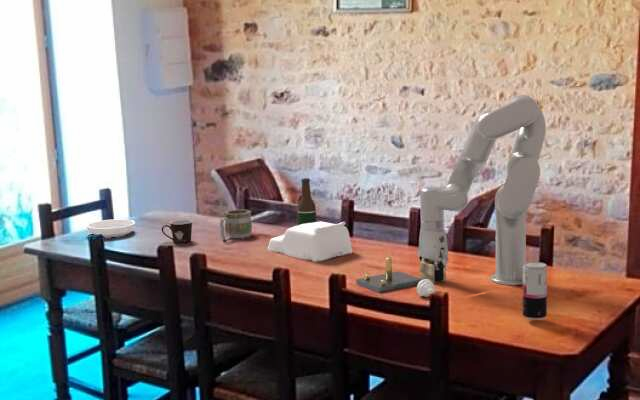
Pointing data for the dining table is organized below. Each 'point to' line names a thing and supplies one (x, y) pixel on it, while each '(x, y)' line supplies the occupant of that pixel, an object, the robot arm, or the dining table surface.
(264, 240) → the dining table surface
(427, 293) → the garlic bulb
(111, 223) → the bowl
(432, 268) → the beige patterned cube
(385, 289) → the pin plate
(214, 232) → the dining table surface
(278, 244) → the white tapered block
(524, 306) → the beverage can
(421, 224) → the robot arm
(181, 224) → the coffee mug
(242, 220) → the mug
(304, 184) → the beer bottle
